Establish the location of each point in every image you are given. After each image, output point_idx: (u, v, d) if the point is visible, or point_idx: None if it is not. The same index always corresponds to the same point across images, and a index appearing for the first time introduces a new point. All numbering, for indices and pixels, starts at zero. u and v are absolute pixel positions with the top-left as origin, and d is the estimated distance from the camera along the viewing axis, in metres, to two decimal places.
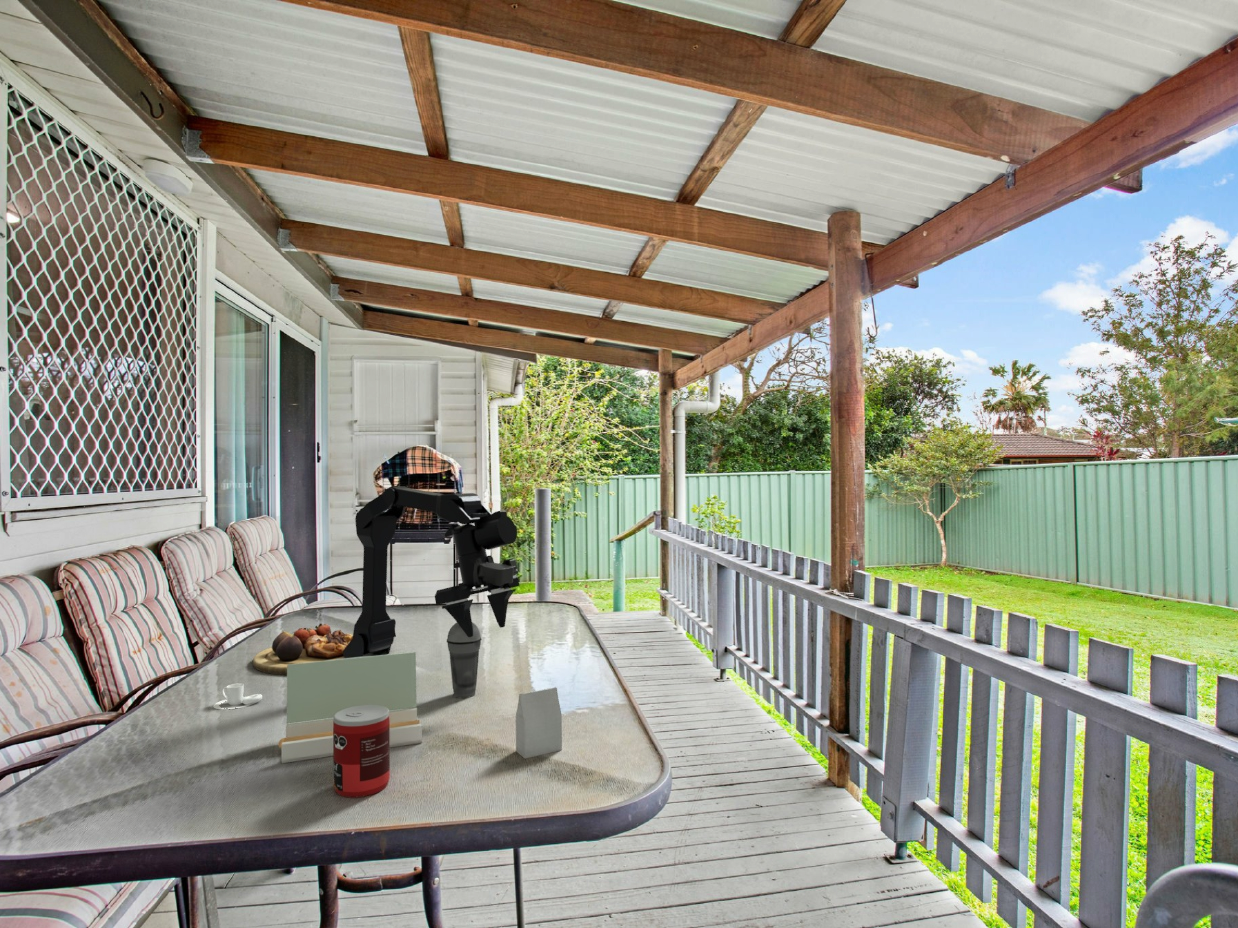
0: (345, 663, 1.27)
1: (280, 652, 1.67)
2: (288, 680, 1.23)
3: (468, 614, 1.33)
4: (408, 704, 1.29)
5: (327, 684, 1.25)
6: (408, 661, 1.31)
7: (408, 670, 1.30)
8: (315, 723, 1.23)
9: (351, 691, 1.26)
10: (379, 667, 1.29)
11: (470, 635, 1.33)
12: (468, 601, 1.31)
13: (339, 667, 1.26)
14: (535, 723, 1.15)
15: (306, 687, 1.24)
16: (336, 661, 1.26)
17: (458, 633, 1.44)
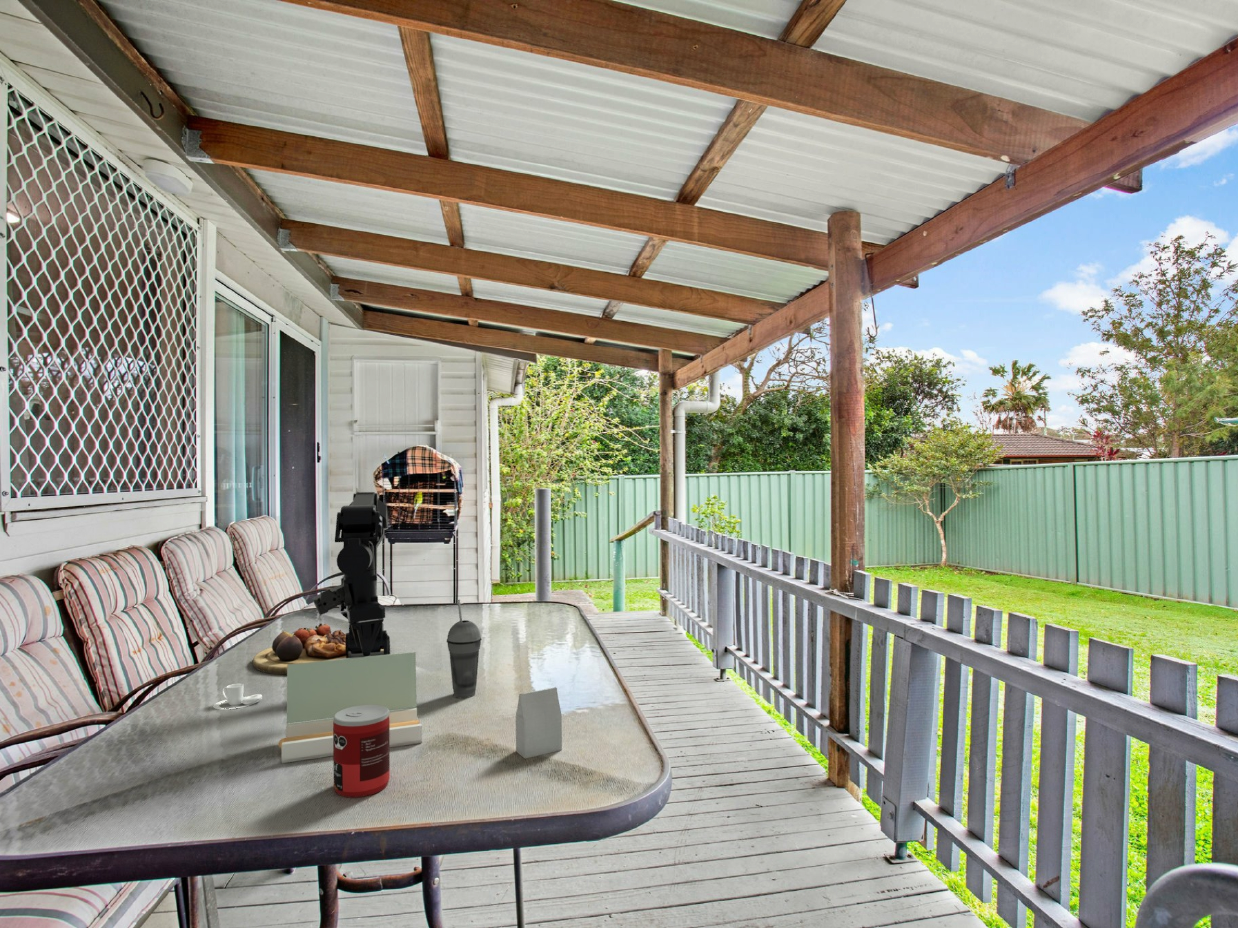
0: (345, 663, 1.27)
1: (280, 652, 1.67)
2: (288, 680, 1.23)
3: (351, 626, 1.38)
4: (408, 704, 1.29)
5: (327, 684, 1.25)
6: (408, 661, 1.31)
7: (408, 670, 1.30)
8: (315, 723, 1.23)
9: (351, 690, 1.26)
10: (379, 667, 1.29)
11: None
12: (342, 614, 1.38)
13: (339, 667, 1.26)
14: (535, 723, 1.15)
15: (306, 687, 1.24)
16: (336, 661, 1.26)
17: (458, 633, 1.44)
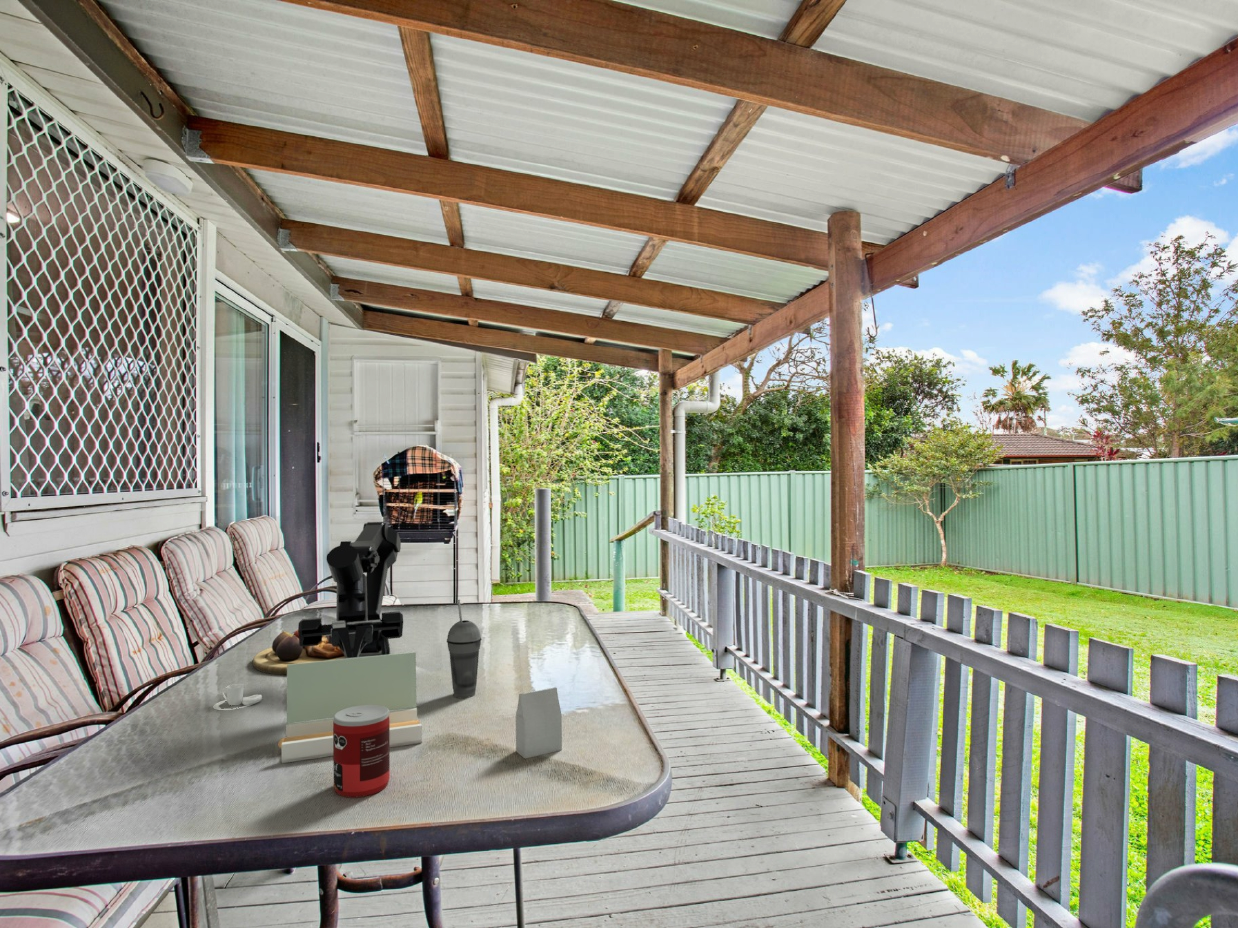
0: (345, 663, 1.27)
1: (280, 652, 1.67)
2: (288, 680, 1.23)
3: None
4: (408, 704, 1.29)
5: (327, 684, 1.25)
6: (408, 661, 1.30)
7: (408, 670, 1.30)
8: (315, 723, 1.23)
9: (351, 691, 1.26)
10: (379, 667, 1.29)
11: None
12: None
13: (339, 667, 1.26)
14: (535, 723, 1.15)
15: (306, 687, 1.24)
16: (336, 661, 1.26)
17: (458, 633, 1.44)
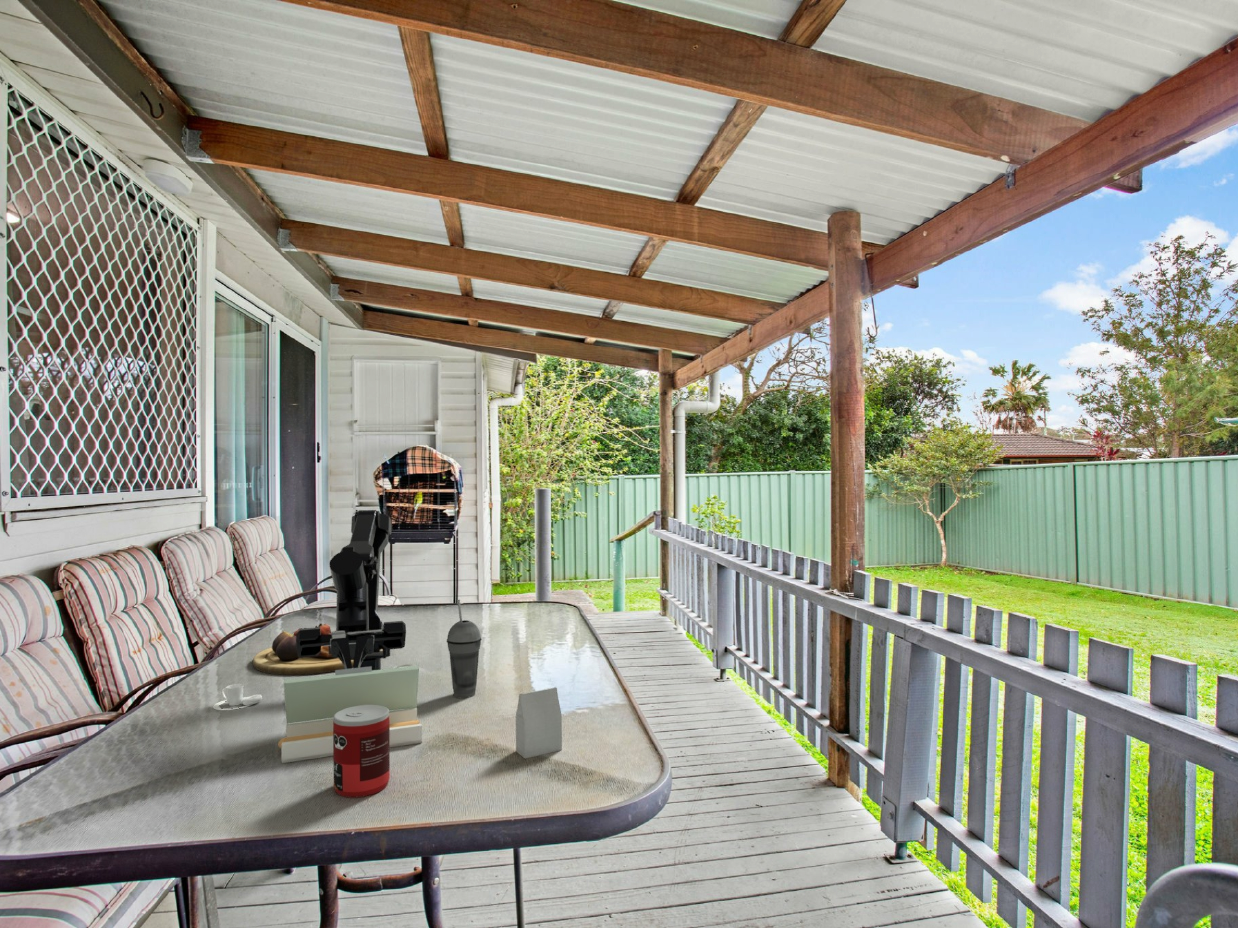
0: (345, 679, 1.21)
1: (280, 652, 1.67)
2: (286, 694, 1.18)
3: None
4: (408, 705, 1.29)
5: (326, 695, 1.21)
6: (411, 675, 1.25)
7: (410, 682, 1.26)
8: (315, 723, 1.23)
9: (352, 699, 1.24)
10: (380, 681, 1.24)
11: None
12: None
13: (339, 683, 1.21)
14: (535, 723, 1.15)
15: (305, 698, 1.20)
16: (335, 678, 1.20)
17: (458, 633, 1.44)
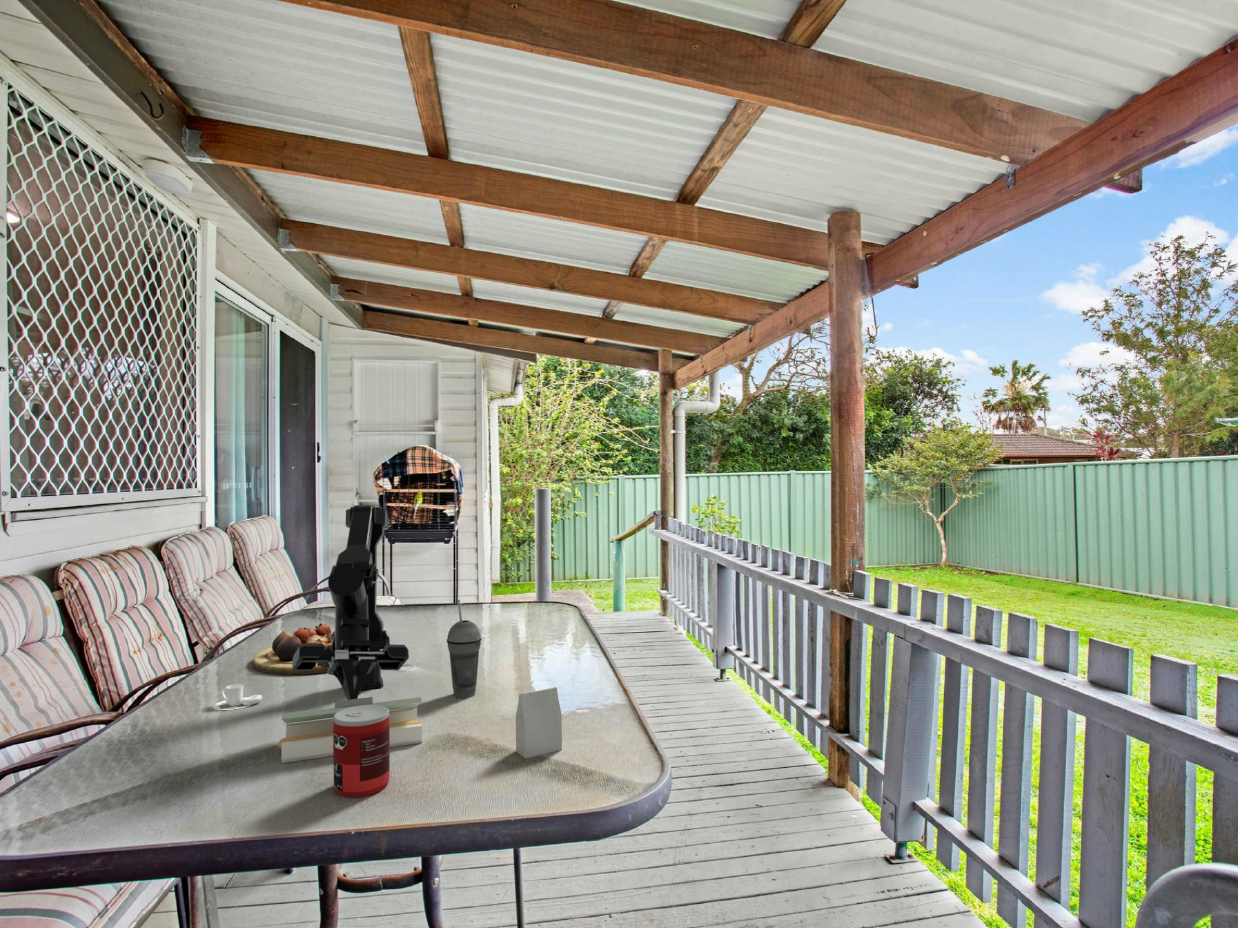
0: None
1: (280, 652, 1.67)
2: (284, 720, 1.16)
3: None
4: (408, 707, 1.29)
5: (326, 715, 1.19)
6: (412, 703, 1.22)
7: (411, 704, 1.24)
8: (315, 723, 1.23)
9: None
10: None
11: None
12: None
13: None
14: (535, 723, 1.15)
15: (304, 718, 1.18)
16: (335, 712, 1.16)
17: (458, 633, 1.44)
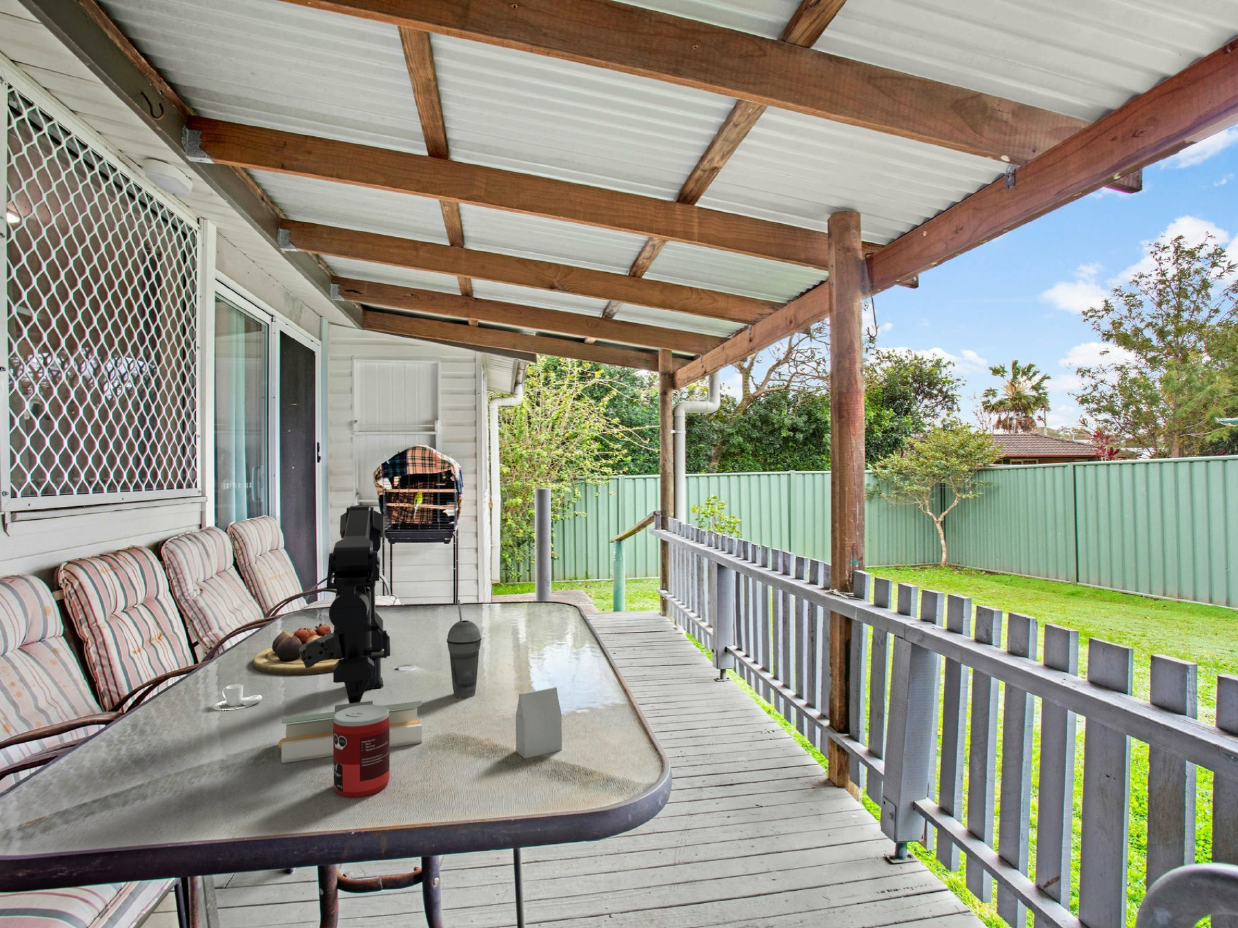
0: None
1: (280, 652, 1.67)
2: None
3: None
4: None
5: None
6: None
7: None
8: (315, 723, 1.23)
9: None
10: None
11: None
12: None
13: None
14: (535, 723, 1.15)
15: None
16: None
17: (458, 633, 1.44)
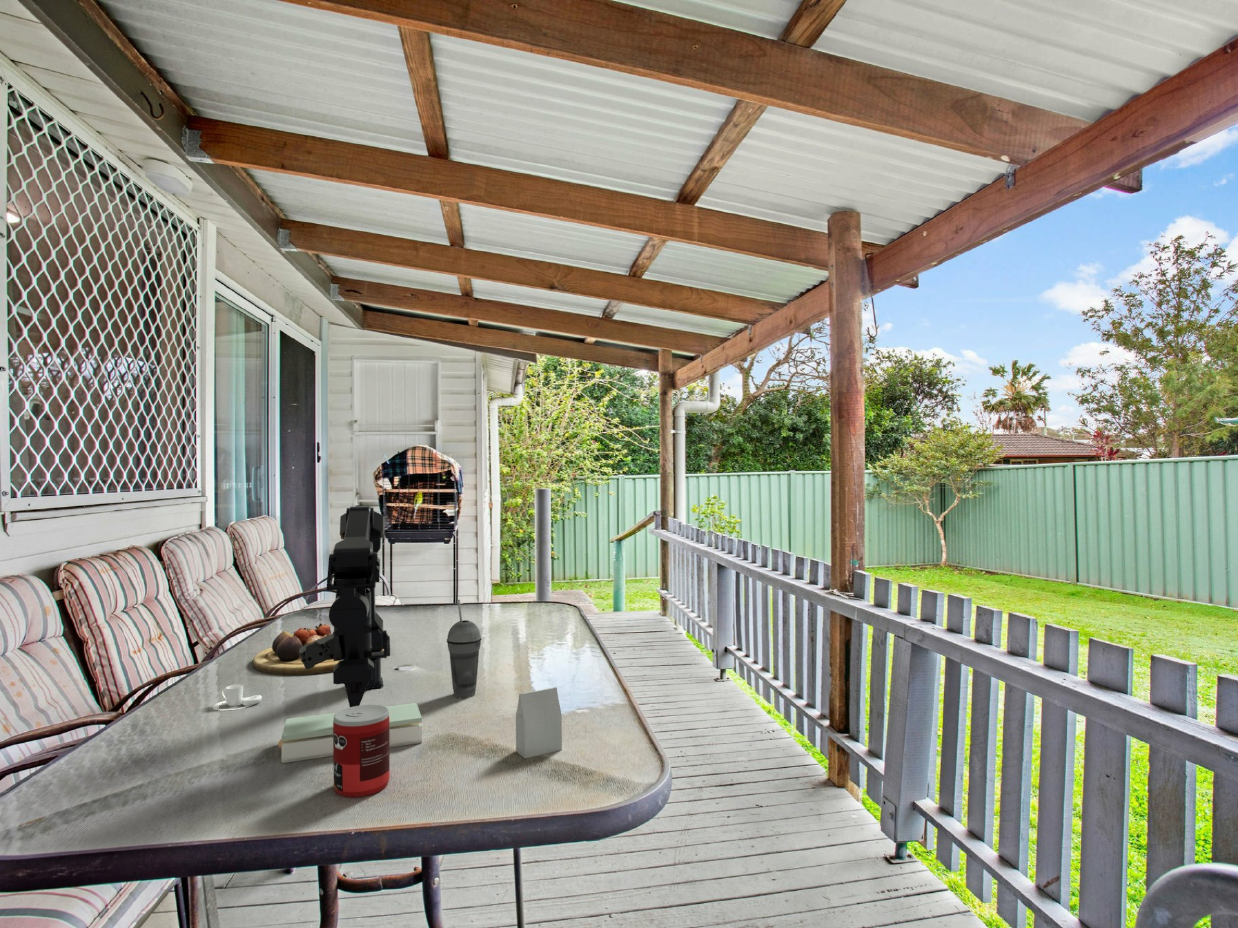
0: None
1: (280, 652, 1.67)
2: None
3: None
4: None
5: None
6: None
7: None
8: None
9: None
10: None
11: None
12: None
13: None
14: (535, 723, 1.15)
15: None
16: None
17: (458, 633, 1.44)
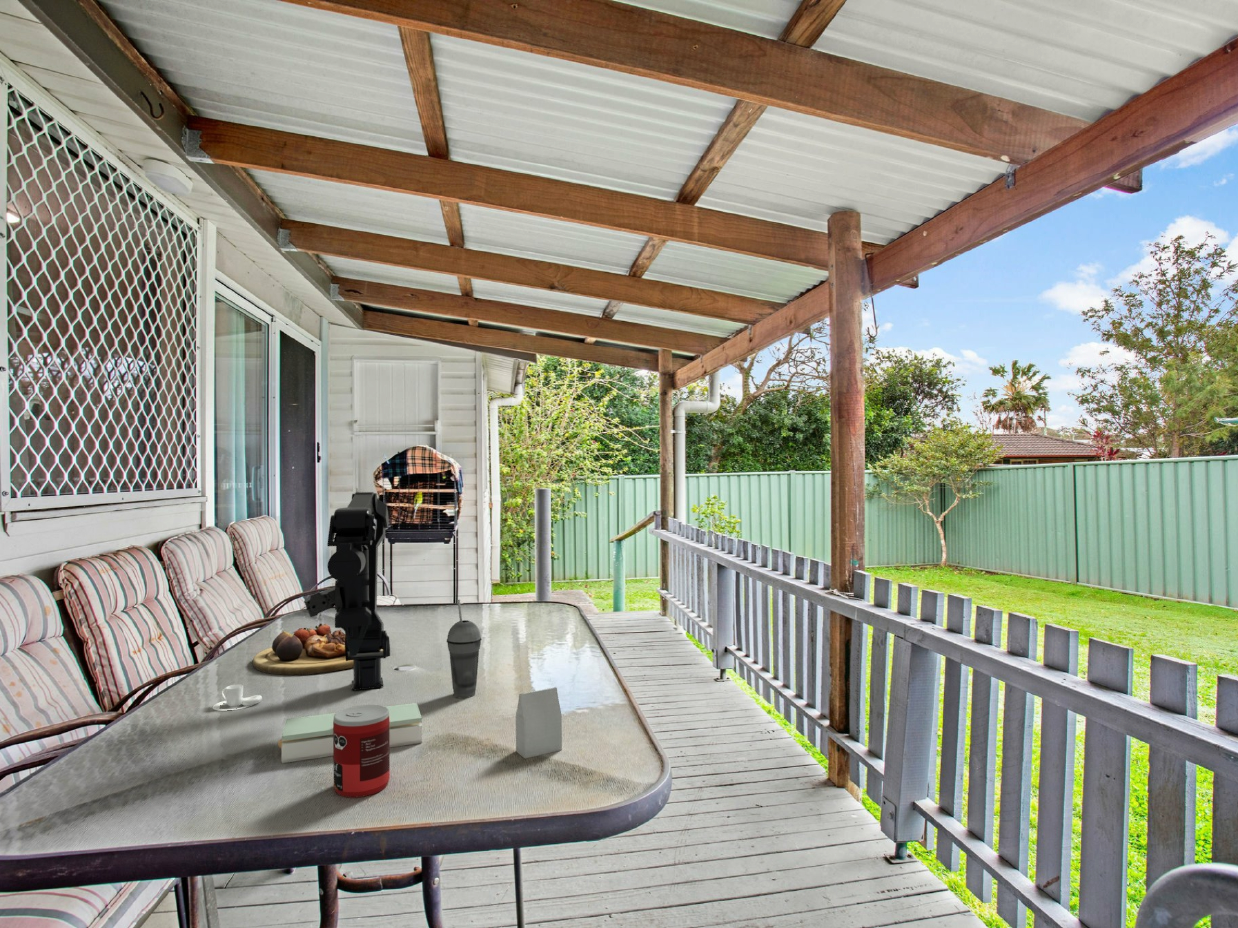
0: None
1: (280, 652, 1.67)
2: None
3: None
4: None
5: None
6: None
7: None
8: None
9: None
10: None
11: None
12: None
13: None
14: (535, 723, 1.15)
15: None
16: None
17: (458, 633, 1.44)
